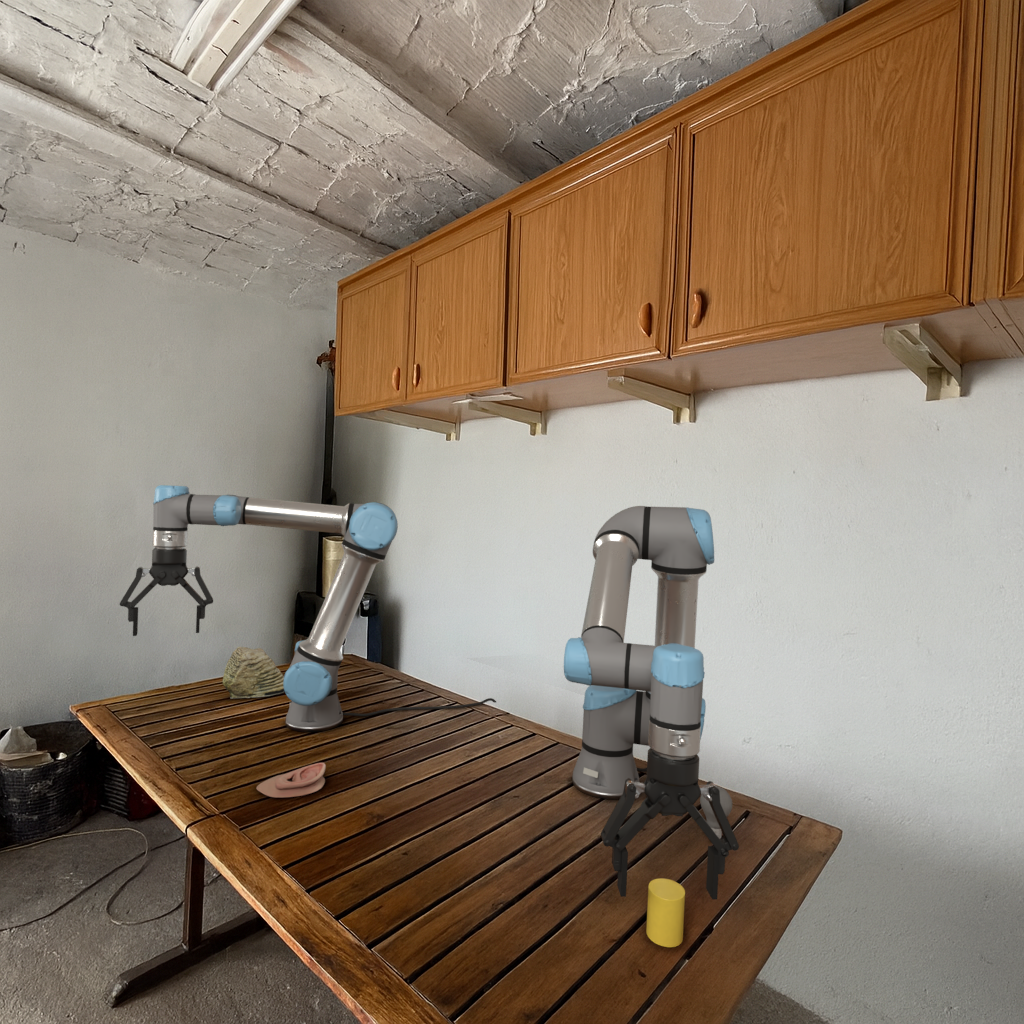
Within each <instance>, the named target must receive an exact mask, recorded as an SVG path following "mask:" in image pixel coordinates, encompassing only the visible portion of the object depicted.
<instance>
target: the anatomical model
mask: <svg viewBox="0 0 1024 1024" xmlns="http://www.w3.org/2000/svg"><path fill="white" fill-rule="evenodd" d="M326 768H327V765H326V763H325V762H316V763H313V764H309V765H306V766H302V767H300V768H297V769H294V770H292V771H289V772H286V773H282V774H278V775H275V776H273V777H270V778H267V779H265V780H264V781H262V782H261V783H259V784H258V785H256V790H257V792H259V793H261V794H263V795H264V796H267V797H270V798H275V799H278V798H293V797H294V798H295V797H300V796H301V797H302V796H306V795H309V794H312V793H315V792H318V791H320V790H321V789H322V788H323V787H324V785H325V783H326V778H325V777H324V775H325V772H326V770H327V769H326Z"/></svg>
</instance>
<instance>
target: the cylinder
mask: <svg viewBox="0 0 1024 1024" xmlns="http://www.w3.org/2000/svg"><path fill="white" fill-rule="evenodd" d="M647 888H648V889H647V911H646V930H645V932H646V935H647V938H648V939H649V940H650V941H651V942H653V943H654V944H655V945H658V946H660V947H664V948H676V947H679V946H680V945H681V944H682V943H683V940H684V925H685V924H684V923H685V903H686V890H685V887H683V885H682V884H680V883H678V882H676V881H675V880H673V879H669V878H663V877H662V878H659V877H658V878H654V879H652V880H651V881H649V883H648V887H647Z"/></svg>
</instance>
